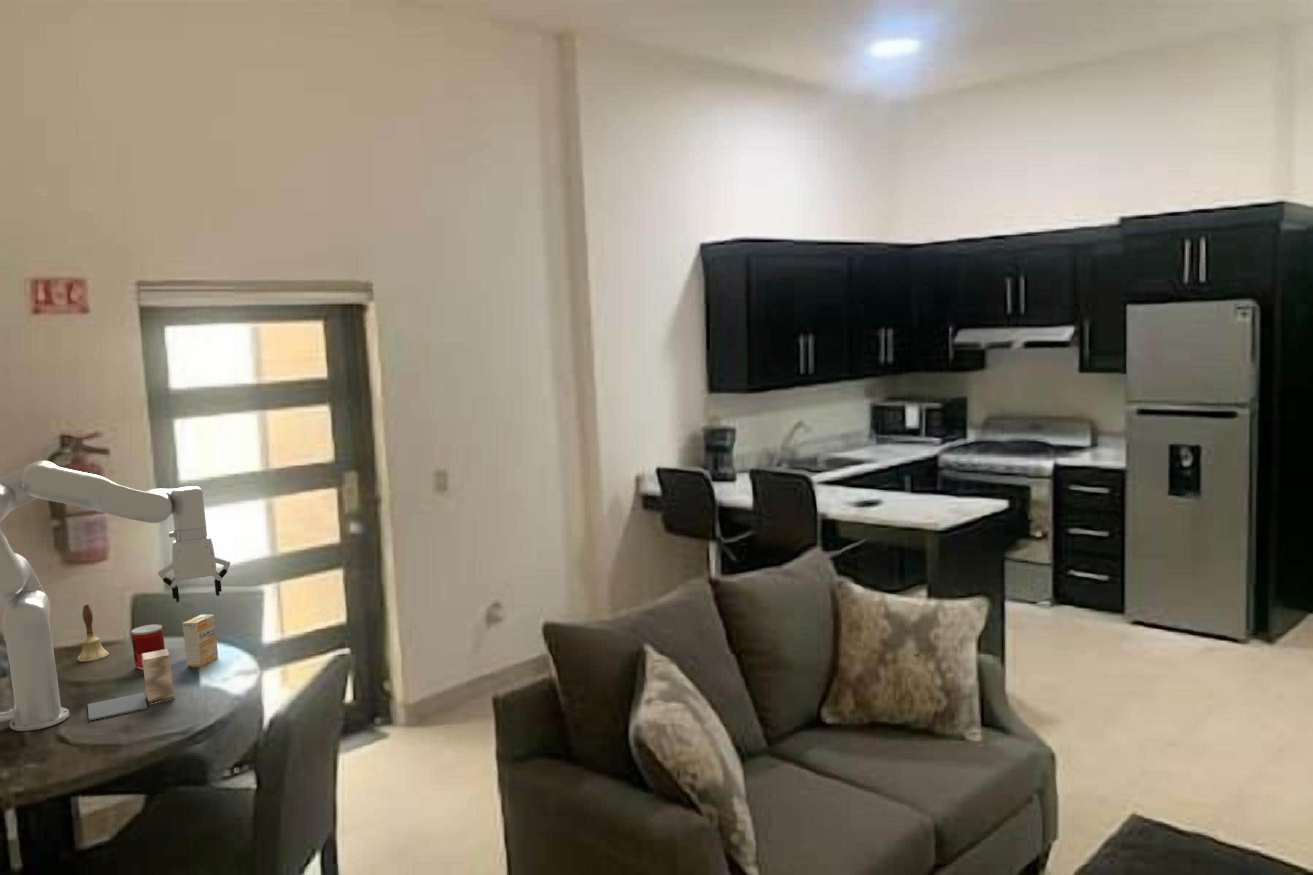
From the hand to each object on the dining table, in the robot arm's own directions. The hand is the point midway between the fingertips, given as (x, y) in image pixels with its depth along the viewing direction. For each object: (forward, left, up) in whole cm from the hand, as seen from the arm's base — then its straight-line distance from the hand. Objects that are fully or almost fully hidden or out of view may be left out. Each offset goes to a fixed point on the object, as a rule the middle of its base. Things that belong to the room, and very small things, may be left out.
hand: (197, 597), depth 269 cm
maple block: (-11, 0, -25) cm, 27 cm away
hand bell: (-25, +51, -25) cm, 62 cm away
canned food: (-11, +31, -25) cm, 41 cm away
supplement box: (+2, +24, -25) cm, 34 cm away
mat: (-21, 0, -25) cm, 33 cm away
